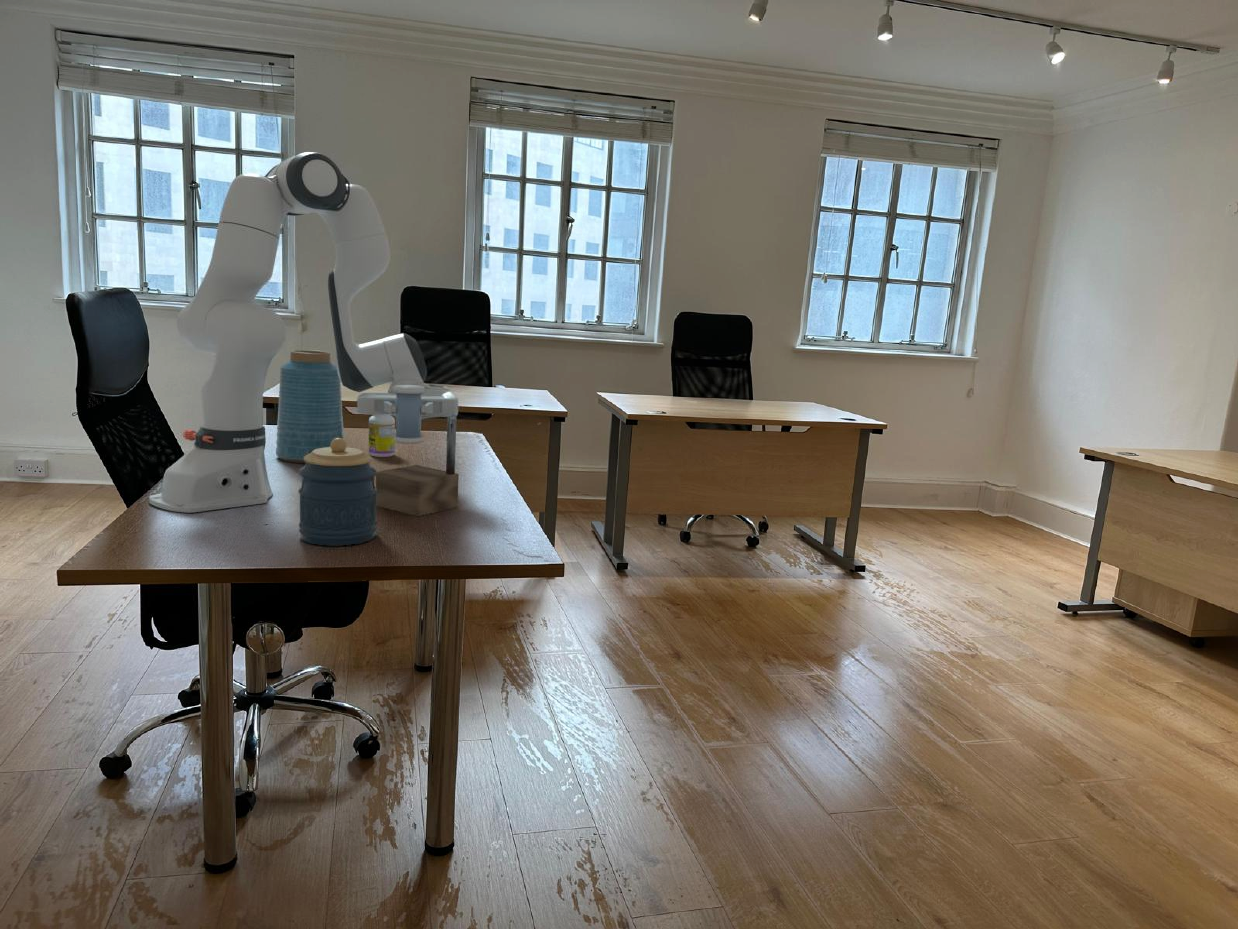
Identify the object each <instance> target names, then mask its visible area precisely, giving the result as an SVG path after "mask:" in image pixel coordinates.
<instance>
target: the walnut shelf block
mask: <svg viewBox="0 0 1238 929" xmlns="http://www.w3.org/2000/svg"><path fill="white" fill-rule="evenodd" d="M459 477H460V476H459V473H456V472H455V474H452V475H450V474H446V470H441V469H437V468H433V467H428V466H423V465H418V464H415V465H407V466H402V467H397V468H389V469H386V470H385V469H384V470H380V471H377V474H376V476H375V487H376V489H377V492H376V507H378V508H383V507H384V509H387V508H388V509H387V510H391V511H395V510H397V511H396V512H398V511H400V512H399V513H402V512H403V513H402V514H406V513H409V514H408V515H410V514H412V515H411V516H414V515H416V516H415V517H418V516H420V517H423V515H424V516H427V515H426V514H428V515H430V514H429V513H432V514H436V513H439V512H438V511H440V512H443V511H442V510H444V511H447V509H448V510H450V508H452V509H455V508H454V507H456V508H458V504H459ZM435 512H436V513H435Z"/></svg>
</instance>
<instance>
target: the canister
mask: <svg viewBox="0 0 1238 929" xmlns="http://www.w3.org/2000/svg"><path fill="white" fill-rule="evenodd" d="M304 461H305V462H306V463H305V465H304V466H302V467H300V469H299V470H298V472H297V473H298V475H299V476H300V477H301V487H300V488H298V493H299V523H298V527H299V528H298V532H299V534H300V539H301V540H302V541H303V542H305V543H307V544H310V545H311V544H312V545H315V544H318V545H317V546H322V545H326V546H325V547H344V546H343V545H347V546H352V545H351V544H355V545H360V544H364V543H366V541H367V542H369V541H371V540H372V539H374V538H375V536H376V532H377V529H378V528H377V525H378V524H377V506H376V492H377V489H376V485H375V478H376V474H377V472H378V470H377V469H376V468H375V467H374V466H372V465H371V462H372V461H373V456H371V455H369V453H366V452H365V451H364V450H363V449H360V448H358V447H357V448H356V447H349V446H347V443H346V441H345V439H344V438H343V439H342V438H335V439H333V440H332V441H331V444H330V447H326V448H319V449H315V450H313V451H312V452H311V453H310V454H308V455H306V456H305V457H304ZM363 542H364V543H363Z"/></svg>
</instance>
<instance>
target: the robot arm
mask: <svg viewBox="0 0 1238 929" xmlns="http://www.w3.org/2000/svg"><path fill="white" fill-rule="evenodd" d="M314 213H315V214H317V216H320V218H321V219H322V220H323V221H324V223H325V224H326V227H327V228H328V230H329V233H330V236H331V240H332V244H333V246H334V251H335V264H334V268H333V269H331V271H330V272H329V273H328V277H327V289H328V291H327V292H328V299H329V300H328V301H329V307H330V315H331V320H332V321H331V322H332V327H333V328H332V330H333V334H334V343H335V351H336V355H335V356H336V359H335V360H336V361H335V362H336V363H335V366H336V368H337V373H338V377H339V379H340V382H341V384H342V386H343V387H345V388H347V389H349V390H351V391H354V392H356V393H360V394H359V395H358V396H357V398H356V402H357V413H358V414H363V415H374V414H391V416H392V417H393V418H394V419H396V393H395V392H393V386H396V385H417V386H423V387H424V393H421V420H424V419H429V418H430V419H431V418H445V417H446V418H447V415H456V416H458V414H459V399H458V396H457V395H456V394H455V393H454V392H452V391H450V387H448V386H443V385H436V384H429V383H425V382H424V381H425V380H426V378H427V374H428V371H427V370H428V369H427V364H426V362H425V356H424V354H423V352H422V349H421V347H420V344H419V343H418V342H417V340H416V339H415V338H414V337H412V336H411V335H409V334H407V333H406V332H405V333H404V332H402V333H397V334H394V335H393V334H392V335H390V336H385V337H383V338H380V339H375V340H372V341H367V342H363V343H358V342H356V341H355V338H354V337H355V336H354V330H353V323H352V316H351V304H352V301H353V299H354V298H355V296H357V294H359V293H360V292H361V291H362V290H363V289H365V288H366V287H368V286H369V285H370V284H372V283H374V282H375V281H376V280H378V279H379V278H380V277H381V276H382V275H383V274H384V273H385V272H386V270H387V269H388V268H389V264H390V261H391V257H392V256H391V250H390V244H389V238H388V235H387V232H386V229H385V226H384V224H383V221H382V218H381V215H380V213H379V211H378V208H377V205H376V204H375V202H374V200H373V198H372V196H371V193H370V192H369V191H368V190H367V189H366V188H365V187H364V186H361V185H359V184H353V183H350V181H349V180H348V179H347V178H346V176H345V175H343V173H342V171H341V169H340V168H339V167H338V165H337V164H336V163H335V162H334V161H333V160H332V159H331V158H330V157H328V156H327V155H325V154H322V153H319V152H314V151H313V152H312V151H311V152H310V151H307V152H306V151H305V152H302V153H299V154H297V155H294V156H289V157H287V158H285V159H284V160H282V161H280V162H279V163H278V164H276V165H275V166H273V167H272V168H271V169H270V170H269V171H268V172H267V173H266V174H265V175H261V174H258V173H243V174H239V175H238V176H236V177H234V179H233V180H232V182H231V184H230V185H229V188H228V190H227V192H226V196H225V199H224V201H223V203H222V207H221V211H220V215H219V220H218V224H217V230H216V235H215V239H214V245H213V249H212V253H211V259H210V261H209V265H208V268H207V271H206V273H205V274H204V277H203V278H202V281H201V283H200V285H199V286H198V289H197V291H196V292H195V295H194V296H193V298H192V299H191V300H190V302H189V303H187V304H186V305H185V306H183V308H182V309H181V310H180V312H179V313H178V317H177V321H176V326H177V332H178V335H179V336H180V338H181V339H182V340H183V342H185V343H186V344H187V345H188V346H190V347H192V348H193V349H196V350H197V351H200V352H201V353H203V354H209V355H213V356H214V363H213V368H212V371H211V374H210V376H209V378H208V379H207V380H206V381H205V382H204V383H203V385H202V388H201V392H200V393H201V394H200V395H201V421H202V422H201V423H202V424H201V426H200V428H199V430H198V431H196V430H191V429H189V428H188V429H185V430H184V431H183V432H182V438H184V440H187V441H192V442H193V441H194V443H193V445H194V446H193V447H192V448H191V449H189V450H188V451H187V452H186V453H185V454H183V455H182V456H181V457H180V458H178V460H177V461H176V462H174V463H172V465H171V466H169V467H168V468H167V469H166V470H165V472H164V474H163V478H162V485H161V492H160V493H156V494H152V495H149V498H148V502H149V504H150V505H152V506H154V507H156V508H160V509H162V510H166V511H170V512H178V513H186V514H187V513H189V514H192V513H197V512H198V513H201V512H207V511H208V512H209V511H216V510H222V509H229V508H237V507H245V506H252V505H260V504H265V503H267V502H268V500H269V498H270V497H272V496H273V494H274V493H273V490H272V487H271V484H270V480H269V477H268V471H267V464H266V456H265V448H266V442H267V441H266V439H267V438H266V426H264V424H263V423H264V417H263V415H264V410H263V408H264V406H263V405H264V404H263V402H264V386H265V381H266V377H267V375H268V374H267V373H268V370H269V368H270V365H271V362H272V360H273V358H274V357H275V356H276V355H277V354H279V352H280V351H281V350H282V348H283V347H284V344H285V341H286V336H287V335H286V334H287V332H286V327H285V323H284V321H283V319H282V318H281V316H280V315H279V314H278V313H276V312H275V311H274V310H271V309H270V308H268V307H266V306H264V305H261V304H258V303H255V302H254V301H255V299H256V298H257V295H258V294H259V292H260V291H261V289H262V288H263V287H264V286H265V285H266V284H268V282H270V280H271V279H272V277H273V272H274V269H275V264H276V263H275V262H276V257H277V252H278V248H279V243H280V242H279V241H280V237H281V230H282V225H283V222H284V219H285V217H286V216H293V217H294V216H303V215H306V214H308V215H309V214H314ZM388 383H390V384H389V387H388V390H387V392H364V391H367V390H369V389H372V388H374V387H378V386H380V385H381V386H382V385H384V384H388ZM361 392H364V393H361Z"/></svg>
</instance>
